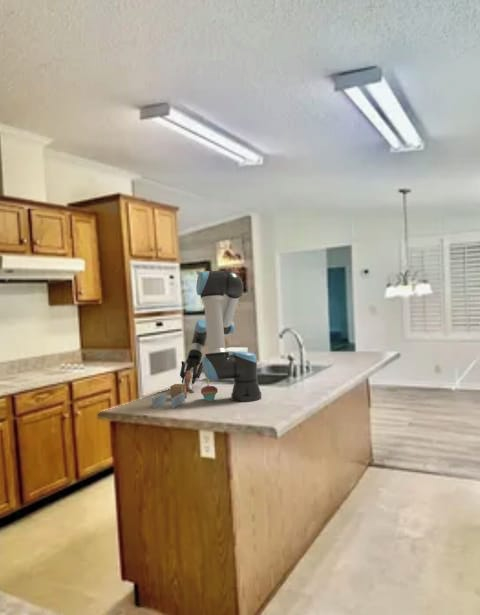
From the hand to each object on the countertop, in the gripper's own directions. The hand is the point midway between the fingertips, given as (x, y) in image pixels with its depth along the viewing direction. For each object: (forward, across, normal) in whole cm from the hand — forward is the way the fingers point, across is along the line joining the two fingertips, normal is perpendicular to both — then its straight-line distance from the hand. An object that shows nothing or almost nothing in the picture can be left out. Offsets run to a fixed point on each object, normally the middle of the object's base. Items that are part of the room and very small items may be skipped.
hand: (186, 388), depth 260 cm
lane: (+19, 0, +14) cm, 24 cm away
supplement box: (-30, -13, -35) cm, 48 cm away
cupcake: (+11, -17, +6) cm, 21 cm away
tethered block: (+5, 0, 0) cm, 5 cm away
